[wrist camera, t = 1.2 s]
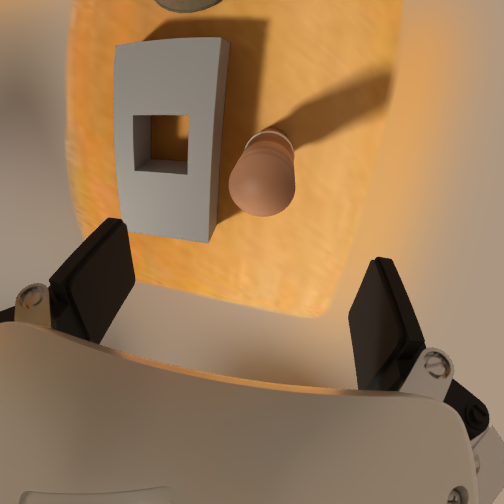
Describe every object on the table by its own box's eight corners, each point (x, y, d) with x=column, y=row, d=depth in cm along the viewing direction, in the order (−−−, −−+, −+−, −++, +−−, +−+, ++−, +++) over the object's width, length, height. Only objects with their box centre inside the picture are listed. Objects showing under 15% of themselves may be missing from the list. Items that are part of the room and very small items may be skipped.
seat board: (135, 47, 22) (115, 45, 18) (230, 43, 21) (221, 37, 18) (138, 214, 33) (123, 230, 30) (216, 224, 33) (208, 243, 29)
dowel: (252, 121, 26) (229, 149, 16) (296, 127, 25) (302, 159, 16) (248, 161, 28) (225, 213, 18) (289, 167, 28) (290, 222, 18)
